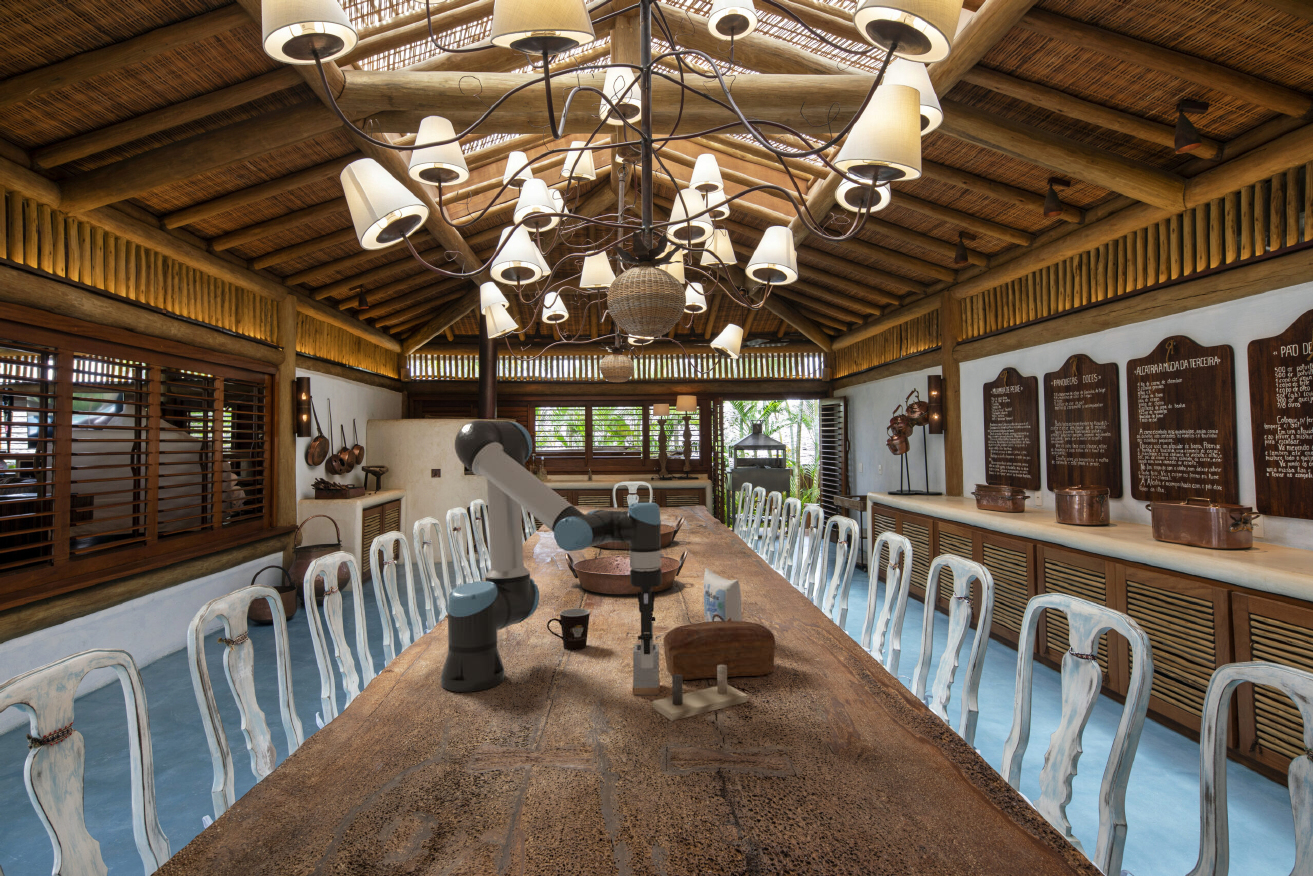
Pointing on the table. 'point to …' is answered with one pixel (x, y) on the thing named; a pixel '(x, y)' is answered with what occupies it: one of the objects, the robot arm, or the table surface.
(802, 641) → the table surface
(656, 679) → the sleeve
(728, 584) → the pouch
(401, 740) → the table surface
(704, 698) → the pin board
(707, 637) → the bread
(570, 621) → the coffee mug
